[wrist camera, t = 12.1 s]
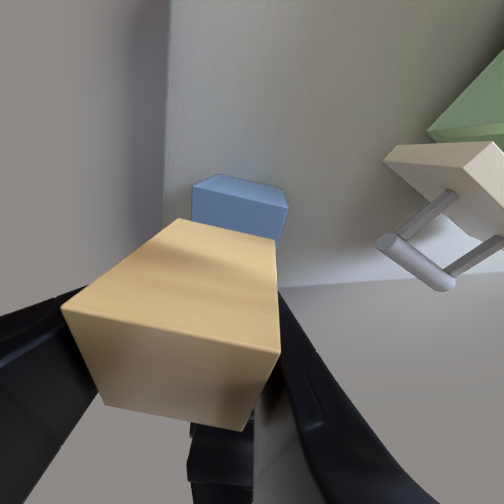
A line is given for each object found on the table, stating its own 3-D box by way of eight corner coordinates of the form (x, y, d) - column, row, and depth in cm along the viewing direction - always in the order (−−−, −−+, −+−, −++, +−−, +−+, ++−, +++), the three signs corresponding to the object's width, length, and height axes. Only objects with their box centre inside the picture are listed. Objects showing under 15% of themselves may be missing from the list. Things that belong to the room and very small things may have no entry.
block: (254, 307, 10) (242, 433, 5) (177, 291, 10) (103, 405, 5) (275, 239, 8) (282, 353, 3) (177, 217, 8) (56, 307, 3)
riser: (266, 245, 18) (265, 283, 13) (212, 232, 18) (188, 266, 13) (282, 188, 16) (288, 207, 10) (218, 173, 15) (192, 185, 10)
